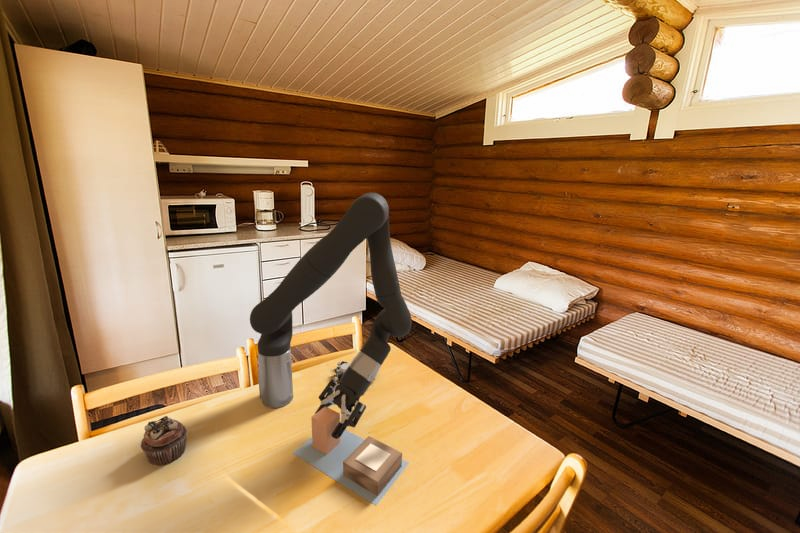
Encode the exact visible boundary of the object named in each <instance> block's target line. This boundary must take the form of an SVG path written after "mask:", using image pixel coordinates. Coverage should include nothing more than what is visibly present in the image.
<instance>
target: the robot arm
mask: <svg viewBox="0 0 800 533" xmlns="http://www.w3.org/2000/svg"><path fill="white" fill-rule="evenodd" d="M389 213H390V207H389V205H388V202H387V200H386V199H385V198H384V196H382V195H380V194H379V193H376V192H366V193H364V194H362V195H361V196H359V197H357V198H356V199H355V200H354V201H353V202H352V203H351V205H350V206H349V208H348V209H347V210H346V212H345V214H344V215H343V216H342V218H341V219H339V221H338V223H337V224H335V226H334V227H333V228H332V229H331V231H329V232H328V233H327V234H326V235H325V236H323V237H322V238H321V239H319V240H318V241H317V242H316V243H315V244H313V245H312V246H311V248H310V249H308V250H307V252H305V253H304V254H303V256H302V257H301V258H300V259H299V260H298V261H297V262H296V263H295V265H294V266H293V267H292V268H291V270H289V272H288V273H287V275H285V277H284V278H283V279H282V281H281V282H280V283H279V285H278V286H277V287H276V288H275V289H274V290H273V291H272V292H271V293H270V294H269V295H268V296H267V297H266V298H264V299H263V300H262V301H259V303H257V304H256V305H255V306H254V307H253V308H252V310H251V312H250V315H249V322H250V323H249V324H250V327H251V328H252V330H254V332H256V333H258V334H260V337H259V339H258V341H257V353H258V354H257V357H258V367H259V370H258V371H257V376H258V378H257V379H258V388H259V398H260V400H261V403H262V405H263V406H265V407H266V408H271V409H277V408H281V407H284V406H287V405H288V404H290V403H291V401H292V400H293V398H294V388H293V386H294V385H293V367H292V353H291V352H292V351H291V347H292V346H291V342H292V338H293V331H294V330H293V311H294V310H295V308H296V307H298V306H299V305H300V304H302V303H303V302H304V301H305V300H307V299H308V298H309V297H311V296H313V294H314V293H315V292H317V291H318V290H319V289H321V287H323V286H324V285H325V284H326V283H327V282H328V281H329V280H330V278H332V277H333V276H334V275H335V274H336V272H337V271H339V269H340V268H341V267H342V266H343V264H344V263H345V262H346V260H347V259H348V258H349V256H350V254H352V252H353V250H355V249H356V248H357V247H358V246H359V245H361V244H362V243H363V242H364V241H365V240H367V245H368V251H369V252H368V253H369V261H370V262H369V263H370V265H369V266H370V276H371V281H372V286H373V290H374V294H375V298H376V301H377V302H378V305H380V306H382V307H383V309H381V311H380V312H378V314H377V315H376V317H375V320H374V322H373V325H372V327H371V329H370V333H369V337H368V338H367V340H366V341H365V343H364V344H363V346H362V347H361V349H360V351H358V353H357V354H356V355H355V357H354V358H353V359H352V360H351V362H350V363H351V364H350V365H349V367H348V368H347V370H346V371H345V373H344V374H343V376H342V377H341V379H340V381H339V382H340V383H338V381H334V379H331V380H329V382H328V383H327V384H326V386H325V388H323V391H322V392H321V393H320V394H319V396H318V399H319V401H320V405H319V406H318V408H317V409H316V411H315V412H314V415H315V414H316V413H317V412H319V411H320V410H321V409H322V408H324V407H325V406H326V407H328V408H330V407H331V406H333V405H334V406H335V405H336V406H337V407H338V408H339V409H340V422H339V423H338V425H337V426H336V428H335V429H334V431H333V433H332V434H331V436H332V437H333V438H335V439H338V438H339V437H341V435H342V434H343V432H344V430H347V427H349V428H350V427H351V428H356V426H357V425H358V423H359V421H360V419H361V417H362V416H363V413H364V412H365V410H366V409H367V406H366V404H364V403H363V402H360V398H361V397H362V396H364V395H365V394H366V392H367V390H368V389H369V387H370V386H371V384H372V383H373V381H374V380H375V379H376V377H377V376H378V374H377V373H379V371H380V369H381V366H382V365H383V363H384V362H385V360H386V359H387V357H388V356H389V354H390V352H391V348H392V347H391V346H390V344H389V343H388V341H389V337H390V335H392V336H394V337H397V338H403V337H405V336H407V335H408V334H409V333H410V331H411V329H412V325H413V324H412V323H413V322H412V314H411V312H410V310H409V307H408V304H407V303H406V301H405V299H404V297H403V295H402V291H401V286H400V281H399V276H398V271H397V268H396V263H395V259H394V253H393V250H392V248H393V247H392V242H391V233H390V214H389ZM376 375H377V376H376ZM375 376H376V377H375Z"/></svg>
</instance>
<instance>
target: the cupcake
mask: <svg viewBox="0 0 800 533" xmlns="http://www.w3.org/2000/svg"><path fill="white" fill-rule="evenodd" d="M187 433H188V431H187V428H186V427H185V425H183V423H181V422H180V421H178V420H176V419H173V418H171V417H168V416H167V415H166V416H163V417H161V418H159V419H158V420H154V421H153V420H152V421H148V423H147V424H146V425H144V433H143V438H142V440H141V442H140V448H141V450H142V452H143V453H144V454H145V456H146V459H147V461H148V462H149V463H150V464H151V465H153V466H157V467H160V466H166V465H169V464H171V463H173V462H174V461H177V460H178V459H180V458H181V457H182V456H183V454H185V450H186V444H187V443H186V442H187Z"/></svg>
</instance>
